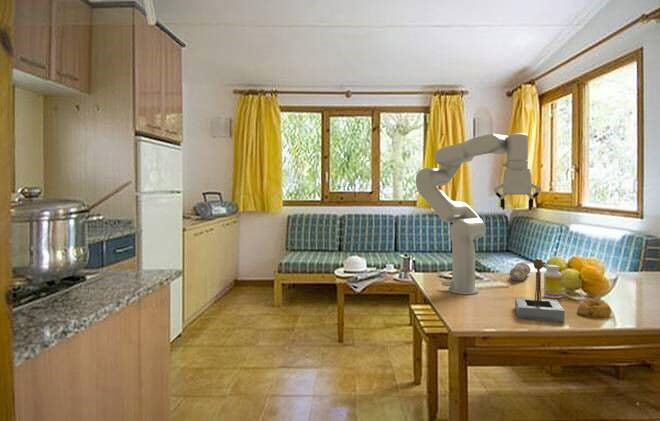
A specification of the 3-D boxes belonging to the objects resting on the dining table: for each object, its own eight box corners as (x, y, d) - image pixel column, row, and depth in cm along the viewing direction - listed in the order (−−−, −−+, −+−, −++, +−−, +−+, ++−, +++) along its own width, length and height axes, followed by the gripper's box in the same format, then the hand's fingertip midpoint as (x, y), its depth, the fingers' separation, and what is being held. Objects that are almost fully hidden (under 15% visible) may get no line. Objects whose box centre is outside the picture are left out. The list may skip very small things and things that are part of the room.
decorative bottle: (514, 274, 231) (515, 261, 231) (530, 276, 227) (530, 263, 227) (504, 283, 209) (505, 269, 209) (522, 285, 205) (522, 271, 205)
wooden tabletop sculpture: (537, 311, 160) (538, 256, 159) (549, 314, 156) (550, 258, 155) (527, 314, 157) (528, 258, 156) (540, 317, 153) (540, 259, 152)
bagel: (569, 311, 161) (569, 298, 161) (597, 310, 162) (598, 297, 162) (588, 319, 151) (588, 305, 151) (618, 318, 152) (618, 305, 152)
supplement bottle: (563, 299, 178) (564, 267, 177) (546, 298, 179) (546, 267, 179) (558, 295, 185) (559, 264, 184) (541, 294, 186) (542, 264, 185)
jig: (518, 319, 151) (518, 307, 151) (514, 307, 166) (515, 297, 165) (564, 322, 147) (564, 310, 147) (556, 310, 161) (556, 299, 161)
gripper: (493, 165, 172) (493, 209, 173) (542, 164, 167) (542, 210, 167) (493, 166, 179) (492, 209, 180) (540, 165, 174) (539, 209, 174)
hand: (516, 209), depth 174 cm, fingers open, 9 cm apart
